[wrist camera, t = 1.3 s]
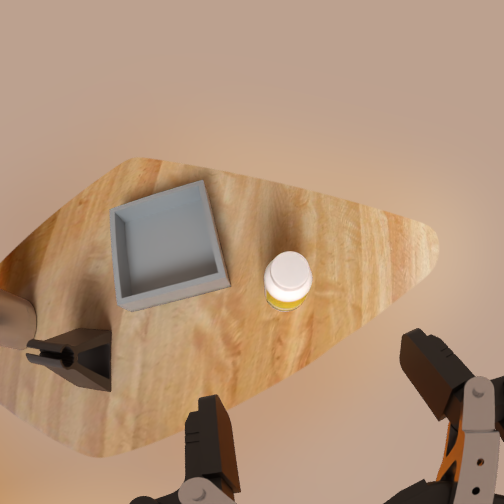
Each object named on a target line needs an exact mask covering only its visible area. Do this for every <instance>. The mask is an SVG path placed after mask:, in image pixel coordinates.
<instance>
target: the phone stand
mask: <svg viewBox="0 0 504 504" xmlns="http://www.w3.org/2000/svg"><path fill="white" fill-rule="evenodd" d="M111 340H112V332H111V330H96V329H82V328H78V329H75V330H72V331H69V332H67V333H64V334H61V335H58V336H56V337H53V338H50V339H47V340H45V341H42V340H35V339H31V340H29V341H28V343H27V345H26V346H27V347H30V348H35V349H40V352H41V353H40V356H39V355H34V354H29V353H26V356H27V359H28V360H29V361H30V362H31V363H35V364H40V365H44V366H46V367H47V368H49V369H50V370H52V371H53V372H55V373H56V374H58V375H60V376H61V377H63V378H64V379H66V380H68V381H69V382H71V383H73V384H74V385H76V386H78V387H83V388H89V389H95V390H101V391H107V392H111V362H110V361H111ZM77 356H78V361H77Z"/></svg>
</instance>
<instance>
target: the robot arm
mask: <svg viewBox="0 0 504 504" xmlns="http://www.w3.org/2000/svg"><path fill="white" fill-rule="evenodd" d="M35 332H36V314H35V310H34V308H33V306H32V304H31V303H30V302H29V301H28V300H26V299H24V298H21V297H19V296H16V295H14V294H12V293H9V292H7V291H4V290H2V289H0V346H3V347H8V348H13V349H18V350H23V349H25V348H27V346H26V345H27V343H28V341H29V340H31V339H33V338H34V336H35ZM400 365H401V368H402V370H403V371H404V373H405V374H406V375H407V377H408V378H409V380H410V381H411V382H412V384H413V385H414V387H415V388H416V389H417V391H418V392H419V394H420V395H421V396H422V398H423V399H424V401H425V402H426V404H427V405H428V407H429V408H430V409H431V411H432V412H433V414H434V415H435V417H436V418H437V420H438V421H440V420H442V419H444V418H446V417H447V418H448V420H449V423H448V429H447V437H446V443H445V450H444V456H443V460H442V463H441V466H440V468H439V471H438V474H437V478H436V481H433V482H428V483H426V481H425V480H424V479H423V480H421V481H419V482H417V483H415V484H414V485H412V486H410V487H408V488H406V489H404V490H402V491H400V492H399V493H397V494H396V495H395V496H393V497H392V498H391V499H390V500H388V501H387V502H385V503H384V504H504V496H503V495H498V494H494V492H495V486H496V478H497V469H498V459H499V445H500V437H501V439H502V440H503V442H504V376H502V377H499V378H496V379H493V380H489V379H487V378H485V377H481V376H477V377H476V376H474V375H473V374H472V372H471V371H470V370H469V369H468V368H467V367H466V366H465V365H464V364H463V362H462V361H461V360H460V359H459V358H458V357H457V356H456V355H455V354H454V353H453V351H452V350H451V349H450V348H448V346H447V345H446V344H445V343H444V342H443V341H442V340H441V339H440V338H438V337H436V336H433V335H429V336H426V334H425V333H424V332H423V331H422V330H421V329H419V328H416V329H414V330H412V331H410V332H408V333H406V334H403V336H402V340H401V350H400ZM198 408H199V411H195V412H190V413H189V416H188V418H187V420H186V422H185V435H186V436H185V444H186V445H185V481H184V483H183V484H182V485H181V487H180V488H179V489H178V490H177V491H175V492H174V493H171V494H169V495H166V496H163V497H160V498H158V499H153V498H151V497H147V496H140V497H137V498H135V499H134V500H132V501H131V502H130V504H237V503H235V500H234V493H239V492H241V489H240V482H239V476H238V470H237V462H236V455H235V447H234V440H233V432H232V426H231V421H230V418H229V415H228V413H227V411H226V410H225V408H224V406H223V404H222V402H221V400H220V398H219V397H218V395H217V394H216V395H211V396H206V397H201V398H199V400H198ZM495 429H496V430H495Z"/></svg>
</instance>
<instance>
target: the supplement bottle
mask: <svg viewBox="0 0 504 504" xmlns="http://www.w3.org/2000/svg"><path fill="white" fill-rule="evenodd" d="M311 284H312V272H311V269H310V267H309V264H308V262H307V260H306V259H305V257H304V256H302V255H301V254H299V253H297V252H293V251H286V252H283V253H280V254H279V255H277V256H276V257H275V259H273V260H272V261H271V262H270V263H269V264H268V266H267V268H266V270H265V273H264V291H265V297H266V300H267V302H268V303H269V305H270V306H271V307H273V308H274V309H276V310H278V311H282V312H288V311H292V310H295V309H296V308H298V307H299V306H300V305H301V304H302V303H303V301H304V299H305V298H306V296H307V294H308V292H309V290H310V287H311Z"/></svg>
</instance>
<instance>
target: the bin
mask: <svg viewBox="0 0 504 504" xmlns="http://www.w3.org/2000/svg"><path fill="white" fill-rule="evenodd" d="M110 231H111V248H112V261H113V272H114V282H115V291H116V299H117V306H119V307H122V308H124V309H126V310H129V311H131V312H134V311H138V310H142V309H146V308H150V307H154V306H158V305H162V304H166V303H170V302H174V301H178V300H182V299H186V298H189V297H193V296H197V295H201V294H205V293H209V292H212V291H216V290H220V289H224V288H227V287H231V285H230V281H229V277H228V273H227V269H226V265H225V261H224V257H223V253H222V249H221V245H220V241H219V237H218V233H217V228H216V224H215V220H214V216H213V212H212V207H211V203H210V199H209V195H208V192H207V189H206V187H205V184H204V181H203V180H200V181H196V182H193V183H189V184H186V185H183V186H179V187H176V188H173V189H169V190H166V191H163V192H160V193H157V194H153V195H150V196H147V197H144V198H141V199H138V200H135V201H132V202H129V203H126V204H123V205H120V206H118V207H115V208H112V209H110Z"/></svg>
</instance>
